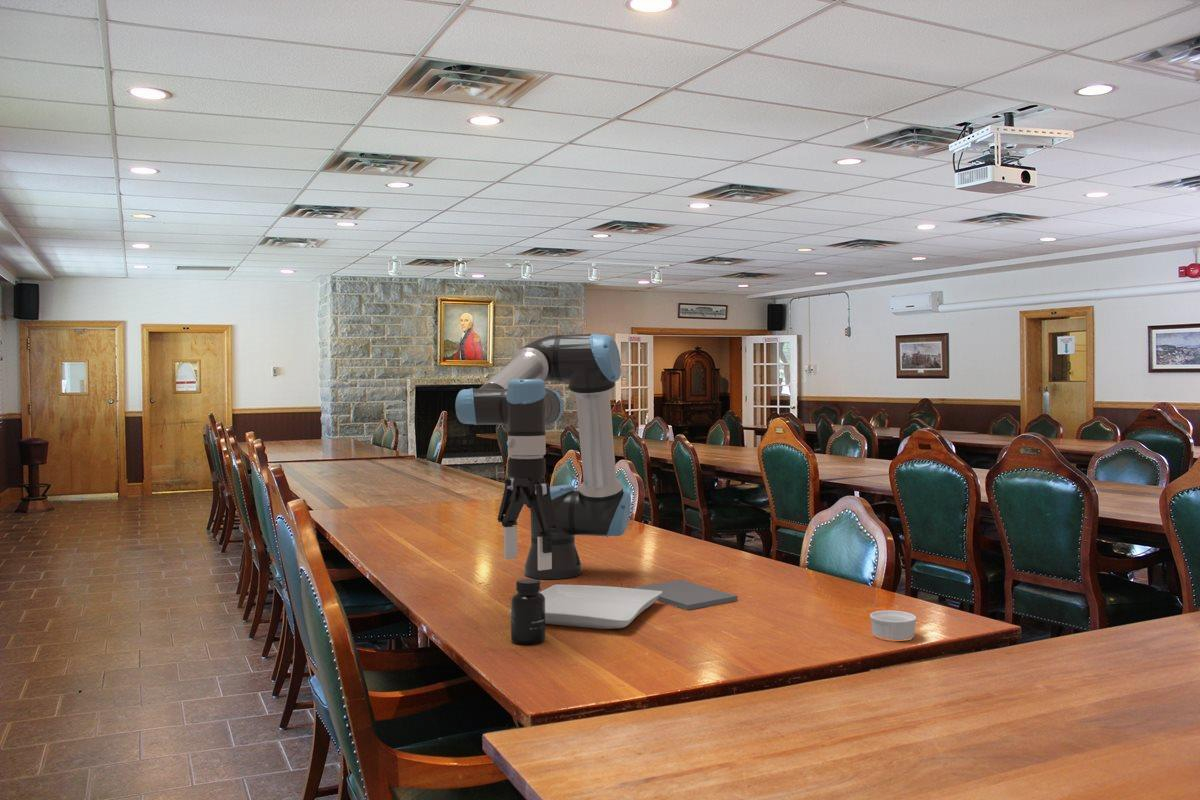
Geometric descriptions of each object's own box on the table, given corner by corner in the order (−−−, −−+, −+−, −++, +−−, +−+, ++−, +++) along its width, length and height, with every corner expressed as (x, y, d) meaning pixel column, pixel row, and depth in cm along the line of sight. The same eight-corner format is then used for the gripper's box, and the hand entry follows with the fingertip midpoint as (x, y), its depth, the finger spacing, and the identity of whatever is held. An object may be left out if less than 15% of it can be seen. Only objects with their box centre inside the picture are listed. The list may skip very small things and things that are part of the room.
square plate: (664, 605, 210) (664, 588, 210) (629, 638, 184) (628, 619, 184) (555, 597, 219) (554, 581, 219) (506, 627, 193) (506, 608, 193)
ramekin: (893, 646, 177) (893, 623, 177) (860, 634, 185) (860, 613, 184) (926, 639, 181) (926, 617, 181) (892, 628, 189) (892, 607, 188)
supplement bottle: (540, 646, 177) (539, 585, 177) (506, 644, 179) (506, 584, 179) (549, 636, 184) (548, 577, 184) (516, 635, 186) (516, 576, 185)
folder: (680, 584, 230) (680, 579, 230) (737, 600, 212) (737, 595, 212) (632, 592, 221) (632, 587, 221) (687, 610, 204) (687, 605, 204)
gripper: (480, 454, 189) (481, 556, 189) (542, 462, 168) (542, 576, 168) (512, 452, 193) (513, 552, 193) (576, 460, 172) (577, 572, 173)
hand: (527, 564), depth 181 cm, fingers open, 13 cm apart
